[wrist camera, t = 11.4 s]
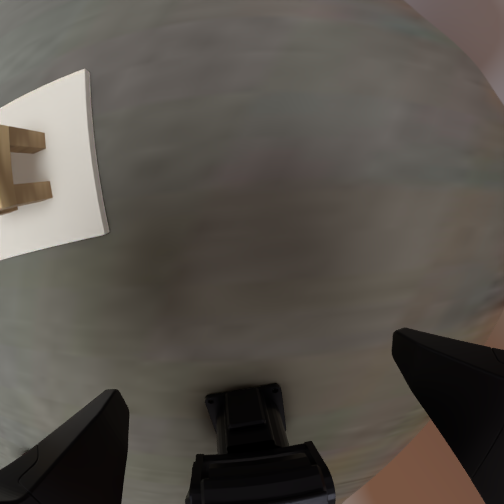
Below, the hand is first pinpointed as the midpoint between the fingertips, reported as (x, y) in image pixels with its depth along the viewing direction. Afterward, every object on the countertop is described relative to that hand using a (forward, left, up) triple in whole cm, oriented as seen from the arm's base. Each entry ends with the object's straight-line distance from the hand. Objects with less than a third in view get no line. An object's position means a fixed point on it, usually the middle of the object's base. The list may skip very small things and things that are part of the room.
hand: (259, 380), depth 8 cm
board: (+10, +14, -13) cm, 22 cm away
